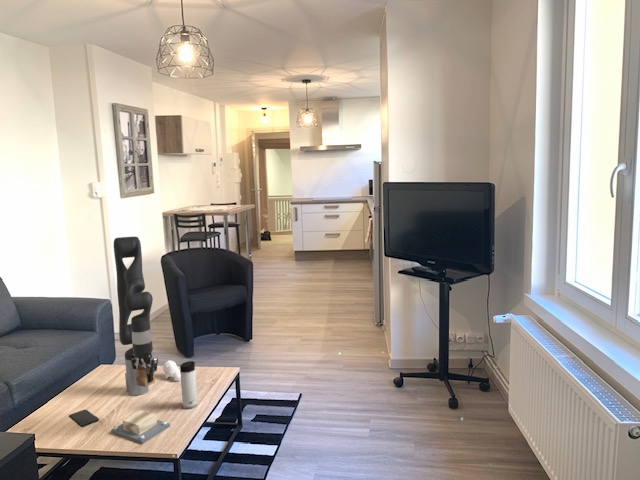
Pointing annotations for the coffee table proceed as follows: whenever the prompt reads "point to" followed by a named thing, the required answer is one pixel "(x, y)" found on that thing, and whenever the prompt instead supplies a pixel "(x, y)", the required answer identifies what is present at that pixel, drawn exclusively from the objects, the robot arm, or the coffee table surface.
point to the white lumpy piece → (171, 370)
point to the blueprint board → (145, 435)
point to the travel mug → (188, 384)
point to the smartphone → (83, 418)
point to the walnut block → (143, 377)
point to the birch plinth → (139, 422)
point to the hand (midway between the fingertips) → (145, 380)
